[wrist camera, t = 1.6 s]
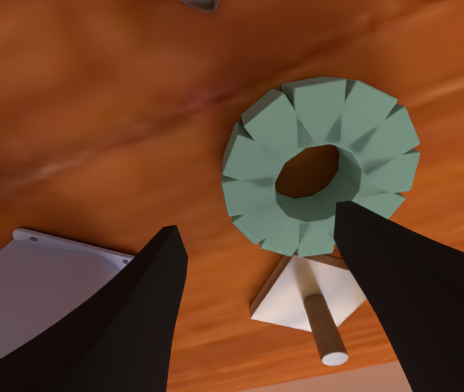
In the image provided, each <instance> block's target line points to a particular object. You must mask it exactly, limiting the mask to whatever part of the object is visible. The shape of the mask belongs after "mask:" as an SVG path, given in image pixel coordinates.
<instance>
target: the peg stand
mask: <svg viewBox="0 0 464 392" xmlns="http://www.w3.org/2000/svg"><path fill="white" fill-rule="evenodd" d="M366 299H367V298H366V296H365V295H364V293H363V291H362V290H361V288H360V287H359V285H358V283H357V282H356V280H355V279H354V277H353V275H352V274H351V272H350V270H349V269H348V267H347V265H346V264H345V262H344V260H341V259H337V258H334V257H331V256H327V255H324V254H321V255H313V256H305V257H298V255H297V252H296V251H295V252H294V254H293V255H292V256H291V257H290V256H287V255H284V256H283V257H282V259H281V260H280V262H279V263H278V265H277V266H276V268H275V269H274V271H273V272H272V274H271V275H270V277H269V278H268V280H267V281H266V283H265V284H264V286H263V287H262V289H261V290H260V292H259V294H258V295H257V297H256V298H255V300H254V301H253V303H252V304H251V306H250V307H249V310H250V318H251V319H255V320H260V321H264V322H269V323H273V324H278V325H282V326H287V327H292V328H296V329H301V330H305V331H310V332H312V333H313V336H314V339H315V343H316V346H317V349H318V352H319V355H320V358H321V361H322V363H323V364H325V365H330V366H333V365H339V364H342V363H344V362H346V361H347V360H348V358H349V355H348V353H347V350H346V348H345V346H344V343H343V341H342V338H341V336H340V334H339V331H338V329H337V327H338V326H339V325H340V324H341V323H342V322H343V321H344V320H345V319H346V318H347V317H348V316H349V315H350V314H351V313H352V312H353V311H354V310H356V309H357V308H358V307H359V306H360V305H361V304H362V303H363V302H364V301H365V300H366Z"/></svg>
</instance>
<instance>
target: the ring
mask: <svg viewBox="0 0 464 392" xmlns="http://www.w3.org/2000/svg"><path fill="white" fill-rule="evenodd" d="M281 91H282V92H281ZM281 91H278V90H276V89H274V88H272V89H271V90H270V91H268V92H267V93H266V94H265V95H264V96H263V97H261V98H260V99H259V100H258V101H257V102H255V103H254V104H253V105H252V106H251V107H250V108H248V109H247V110H246V111H245V112H244V113H242V114H241V118H242V122H243V124H240V123H237V122H236V123H235V125H234V128H233V131H232V133H231V136H230V139H229V141H228V144H227V147H226V149H225V152H224V155H223V165H222V180H221V184H222V189H223V194H224V199H225V203H226V208H227V213H228V216H232V223H233V224H234V225H235V226H236V227H237V228H238V229H239V230H240V231H241V232H242V233H243V234H244V235H245V236H246V237H247V238H248V239H249V240H250V241H251V242H252V243H253V244H256V243H258V242H259V244H260V248H262V249H266V250H269V251H273V252H276V253H280V254H283V255H287V256H290V257H291V256H292V255H293V254H294V252H295V251H296V252H297V255H298V257H305V256H313V255H321V254H328V253H333V248H334V243H335V241H334V239H333V237H334V223H335V210H336V202H343V201H350V200H351V201H353V202H355V203H357V204H359V205H361V206H363V207H365V208H367V209H369V210H371V211H373V212H375V213H377V214H379V215H381V216H383V217H385V218H387V219H389V217H390V216H391V215H392V214H393V213H394V212H395V211H396V209H397V208H398V207H399V206H400V205H401V204H402V202H403V201H404V200H405V199H406V197H405V196H403V195H402V194H400V193H399V192H404V191H410V190H411V187H412V183H413V180H414V176H415V172H416V168H417V164H418V160H419V156H420V152H419V151H417V150H415V149H413V148H414V147H416V146H417V145H419V144H420V141H419V139H418V136H417V134H416V131H415V129H414V126H413V124H412V121H411V119H410V117H409V114H408V112H407V109H406V107H405V106H403V105H398V104H396V103H397V101H398V99H397V98H395V97H393V96H391V95H389V94H387V93H385V92H382V91H380V90H378V89H376V88H374V87H372V86H370V85H368V84H366V83H363V82H361V81H359V80H353V79H345V78H335V77H324V76H321V77H316V78H310V79H305V80H299V81H294V82H288V83H283V84H282V85H281ZM327 144H332V145H335V146H336V148H337V150H338V151H339V163H338V171H337V173H336V174H335V176H334V177H333V179H332V180H331V182H330V183H329V185H328V186H327V187H325V188H323V189H322V190H320V191H319V192H317V193H315V194H314V195H312V196H307V197H300V198H291V197H289V196H286V195H283V194H280V193H278V192H277V190H276V189H275V181H276V179H277V177H278V175H279V173H280V172H281V170H282V168H283V166H284V164H285V163H286V162H287V161H288V160H290V159H291V158H293V157H294V156H295V155H297V154H298V153H300V152H301V151H302V150H304V149H305V148H308V147H314V146H320V145H327ZM335 245H336V243H335Z"/></svg>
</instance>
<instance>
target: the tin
mask: <svg viewBox="0 0 464 392" xmlns="http://www.w3.org/2000/svg"><path fill="white" fill-rule="evenodd" d="M179 1H180V2H182V3H184V4H186V5H188V6H190V7H191V8H195V9H197V10H200V11H203V12H214V11H216V10H217V8H218V6H219V0H179Z"/></svg>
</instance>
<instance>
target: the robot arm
mask: <svg viewBox="0 0 464 392" xmlns="http://www.w3.org/2000/svg"><path fill="white" fill-rule="evenodd" d="M333 239H334V241H335V243H336V246H337V248H338V250H339V252H340V255H341V257H342V259H343V260H344V262H345V264H346V265H347V267H348V269H349V270H350V272H351V274H352V275H353V277H354V279H355V280H356V282H357V283H358V285H359V287H360V288H361V290H362V291H363V293H364V295H365V296H366V298H367V299H368V301H369V303H370V304H371V306H372V308H373V310H374V311H375V313H376V315H377V317H378V319H379V321H380V323H381V325H382V327H383V329H384V331H385V333H386V335H387V337H388V339H389V341H390V343H391V345H392V347H393V349H394V351H395V354H396V356H397V358H398V360H399V362H400V364H401V366H402V368H403V371H404V373H405V375H406V377H407V380H408V382H409V384H410V386H411V389H412V391H413V392H464V252H462V251H459V250H457V249H454V248H451V247H449V246H446V245H443V244H441V243H439V242H436V241H434V240H431V239H429V238H427V237H425V236H422V235H420V234H418V233H416V232H413V231H411V230H409V229H407V228H405V227H403V226H401V225H399V224H397V223H395V222H393V221H391V220H389V219H387V218H385V217H383V216H381V215H379V214H377V213H375V212H373V211H371V210H369V209H367V208H365V207H363V206H361V205H359V204H357V203H355V202H353V201H351V200H350V201H343V202H336V210H335V223H334V237H333ZM125 259H126V260H125ZM187 263H188V256H187V253H186V250H185V247H184V245H183V242H182V239H181V236H180V233H179V231H178V228H177V225H173V226H166V227H163V228H162V229H161V230H160V231H159V232H158V233H157V234H156V235H155V236H154V237H153V238H152V239H151V240H150V241H149V242H148V243H147V245H146V246H145V247H144V248H143V249H142V250H141V251H140V252H139V253H138V254H137V255H136V256H133V255H129V254H125V253H121V252H117V251H113V250H109V249H104V248H100V247H96V246H92V245H88V244H84V243H80V242H76V241H72V240H68V239H64V238H60V237H56V236H52V235H48V234H44V233H40V232H36V231H32V230H28V229H24V228H18V229H16V230H15V231H14V232H13V240H12V241H11V242H10V243H9V244H7V245H6V246H5V247H4V248H2V249H1V250H0V392H166V387H167V378H168V370H169V361H170V354H171V346H172V339H173V333H174V328H175V324H176V319H177V315H178V311H179V306H180V302H181V298H182V294H183V289H184V285H185V280H186V274H187Z"/></svg>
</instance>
